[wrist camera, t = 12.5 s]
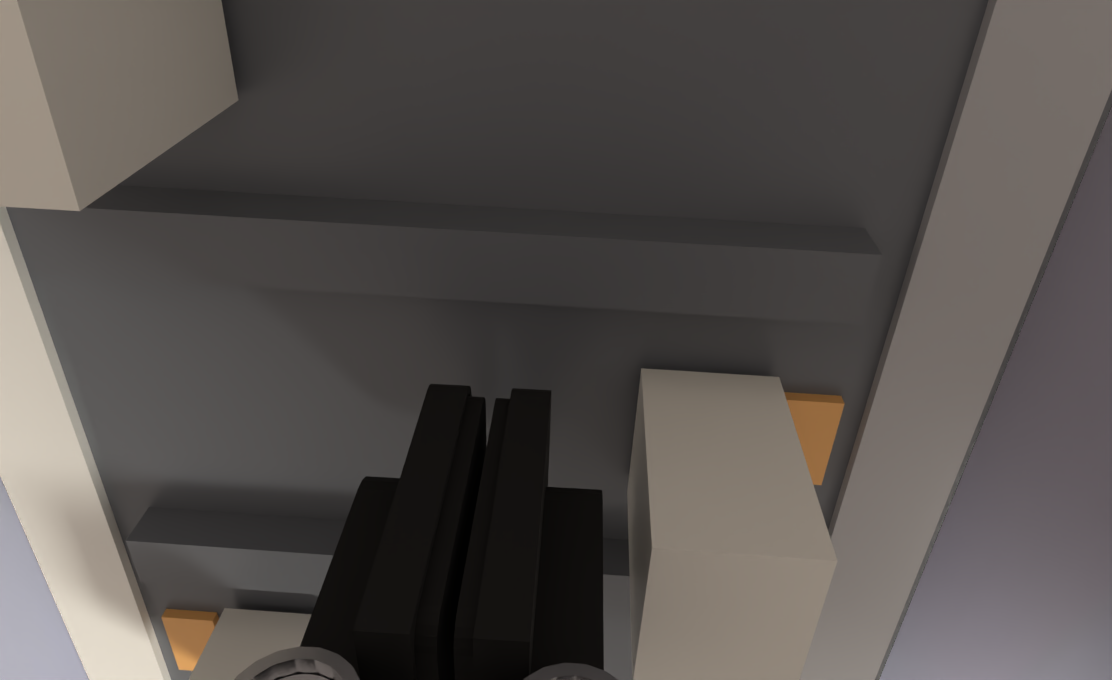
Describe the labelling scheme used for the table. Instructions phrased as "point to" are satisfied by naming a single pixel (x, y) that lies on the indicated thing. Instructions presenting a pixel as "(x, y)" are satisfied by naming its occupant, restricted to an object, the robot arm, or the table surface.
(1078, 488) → the table surface
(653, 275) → the switch board
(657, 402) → the tab
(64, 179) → the tab
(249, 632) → the tab
